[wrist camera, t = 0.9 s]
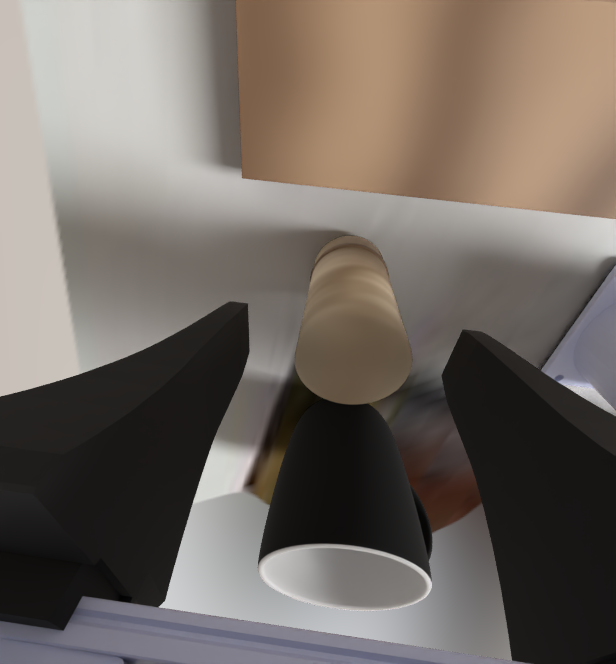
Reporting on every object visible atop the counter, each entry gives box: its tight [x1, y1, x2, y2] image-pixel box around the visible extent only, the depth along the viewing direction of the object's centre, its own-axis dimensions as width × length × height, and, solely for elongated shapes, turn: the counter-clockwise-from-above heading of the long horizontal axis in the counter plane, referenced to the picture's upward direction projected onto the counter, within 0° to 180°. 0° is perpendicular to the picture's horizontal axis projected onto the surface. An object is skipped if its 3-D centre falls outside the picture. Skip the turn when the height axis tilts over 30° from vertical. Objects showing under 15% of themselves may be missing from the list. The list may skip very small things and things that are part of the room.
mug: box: [258, 399, 432, 611], centre depth 20 cm, size 12×9×10 cm
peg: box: [295, 236, 413, 404], centre depth 13 cm, size 4×4×8 cm
